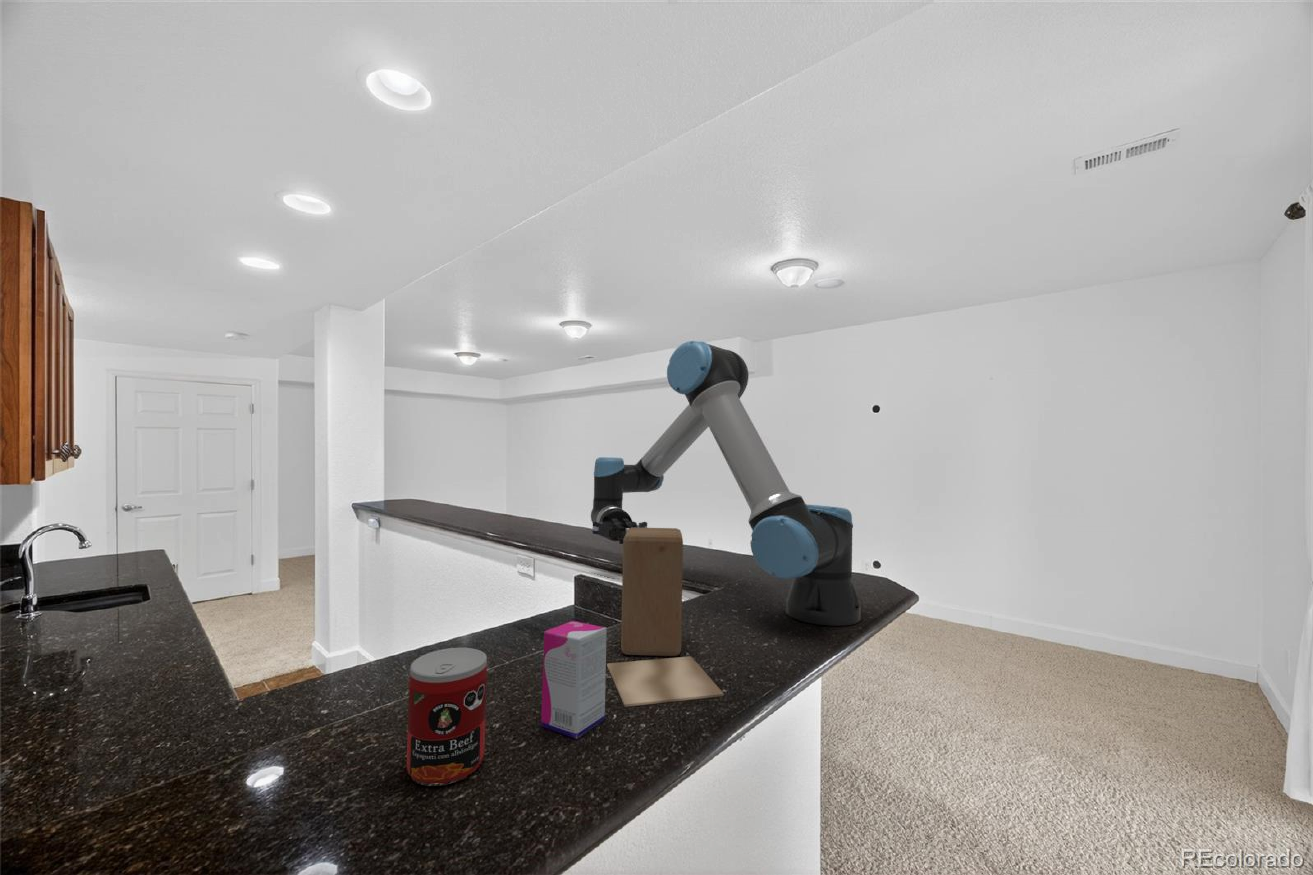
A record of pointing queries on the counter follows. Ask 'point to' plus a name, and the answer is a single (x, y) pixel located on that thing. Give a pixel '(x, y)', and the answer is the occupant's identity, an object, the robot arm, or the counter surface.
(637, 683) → the cork mat
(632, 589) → the wooden block
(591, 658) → the supplement box
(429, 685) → the canned food
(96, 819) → the counter surface
